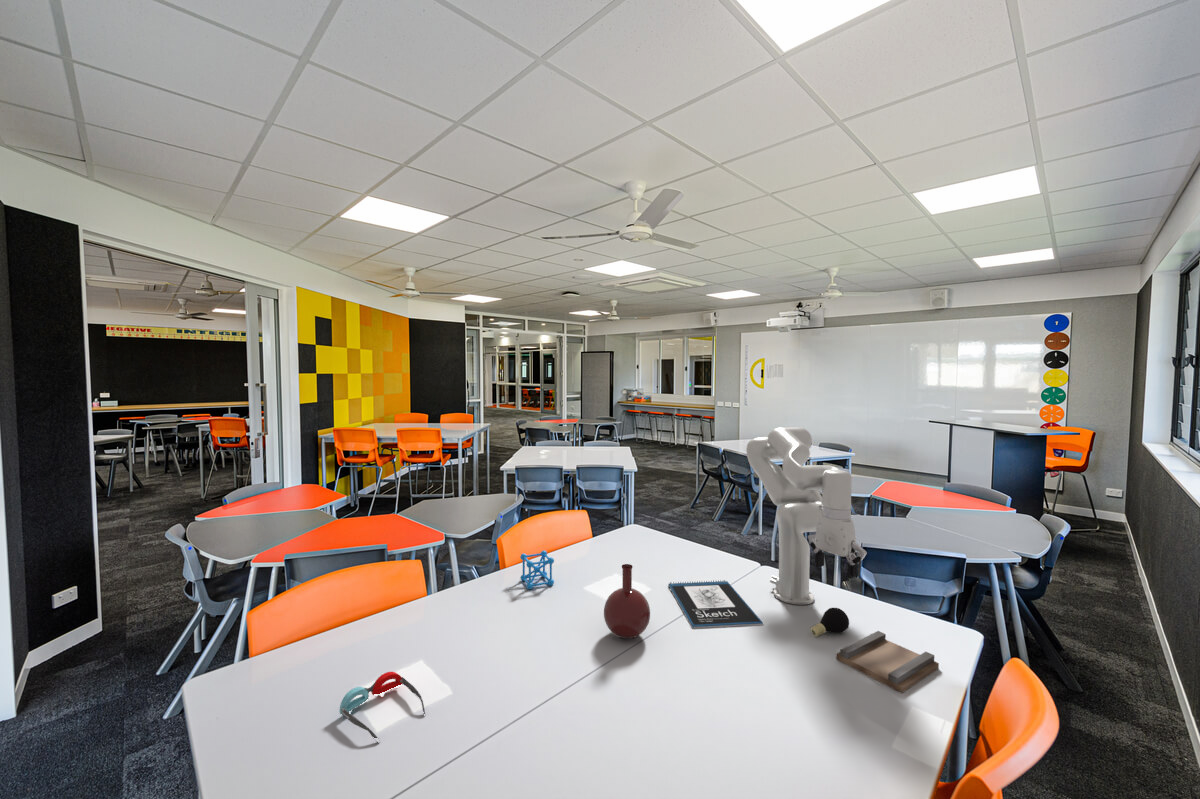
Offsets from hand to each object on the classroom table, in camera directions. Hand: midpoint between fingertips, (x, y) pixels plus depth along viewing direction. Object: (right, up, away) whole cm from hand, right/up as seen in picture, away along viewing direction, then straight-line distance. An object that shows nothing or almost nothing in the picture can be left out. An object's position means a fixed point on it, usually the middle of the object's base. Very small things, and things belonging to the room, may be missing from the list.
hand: (835, 571), depth 138 cm
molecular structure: (-91, -16, +33) cm, 98 cm away
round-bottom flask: (-60, -18, -2) cm, 63 cm away
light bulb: (-2, -18, 0) cm, 18 cm away
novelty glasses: (-115, -19, -35) cm, 121 cm away
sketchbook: (-32, -17, +18) cm, 40 cm away
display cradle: (+5, -18, -16) cm, 24 cm away
